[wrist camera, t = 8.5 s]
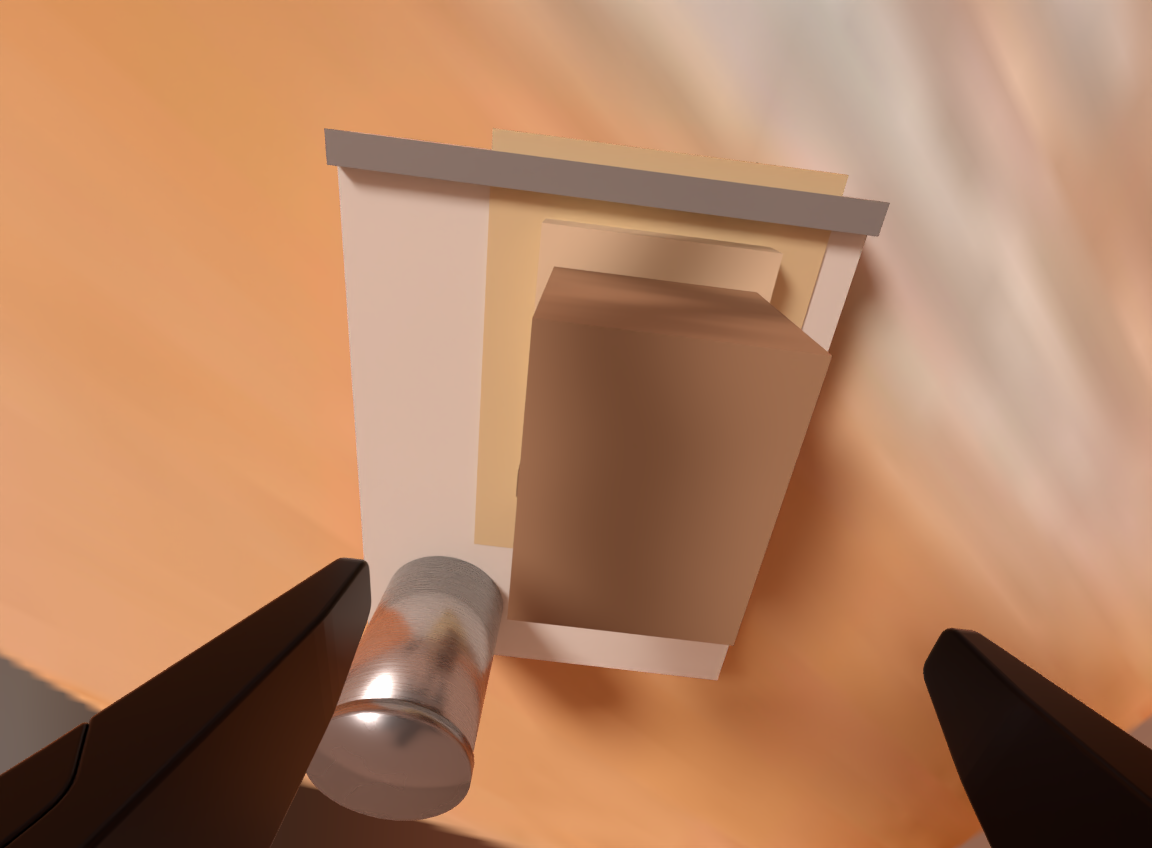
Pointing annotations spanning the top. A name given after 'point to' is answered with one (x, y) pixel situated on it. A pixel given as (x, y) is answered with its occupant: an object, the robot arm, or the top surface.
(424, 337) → the dock
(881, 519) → the top surface
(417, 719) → the canister
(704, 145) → the top surface
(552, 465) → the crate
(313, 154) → the top surface
